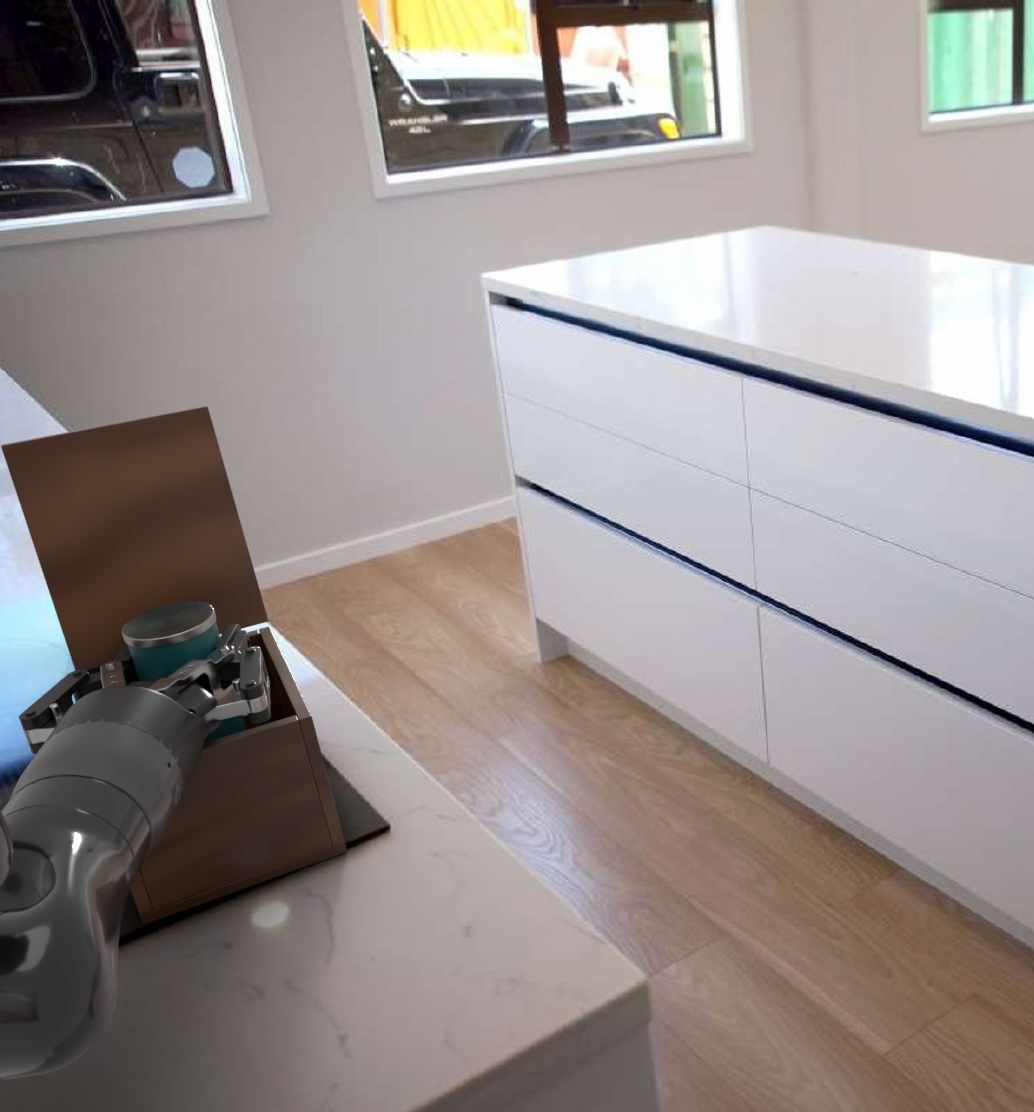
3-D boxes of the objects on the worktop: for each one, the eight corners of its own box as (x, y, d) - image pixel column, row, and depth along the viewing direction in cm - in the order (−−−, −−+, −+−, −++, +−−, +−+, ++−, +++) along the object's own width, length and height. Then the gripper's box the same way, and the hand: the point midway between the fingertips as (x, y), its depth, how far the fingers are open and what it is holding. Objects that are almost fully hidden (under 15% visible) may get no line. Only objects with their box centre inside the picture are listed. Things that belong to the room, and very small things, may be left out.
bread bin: (347, 852, 86) (311, 715, 81) (143, 925, 80) (92, 782, 75) (302, 749, 98) (269, 625, 94) (122, 806, 92) (78, 677, 88)
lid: (207, 406, 89) (206, 405, 89) (0, 445, 83) (1, 444, 83) (268, 621, 93) (267, 619, 94) (76, 673, 87) (76, 670, 88)
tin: (184, 771, 81) (145, 647, 77) (145, 746, 84) (106, 626, 80) (263, 733, 85) (230, 613, 81) (223, 710, 88) (189, 594, 84)
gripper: (227, 705, 68) (290, 577, 84) (-60, 745, 66) (59, 606, 82) (261, 819, 72) (316, 676, 87) (-13, 861, 69) (93, 706, 85)
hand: (191, 643), depth 84 cm, fingers closed on tin, 5 cm apart
